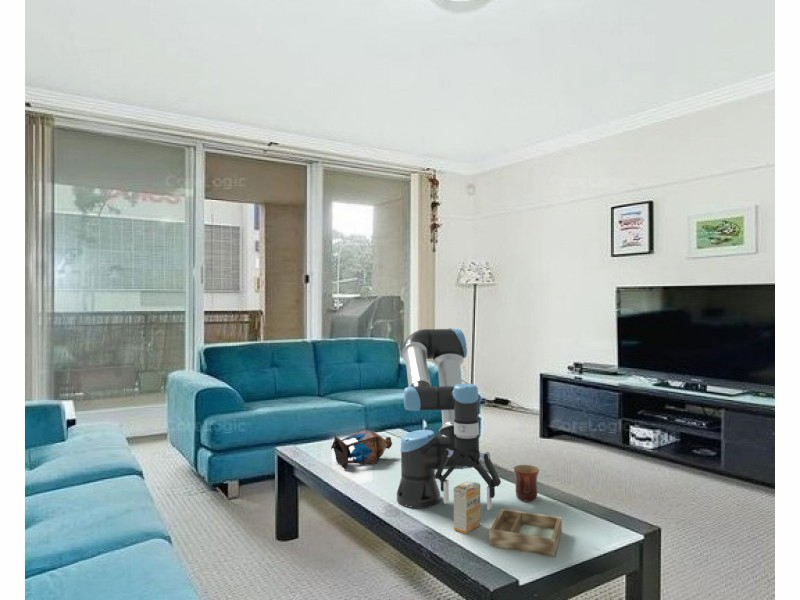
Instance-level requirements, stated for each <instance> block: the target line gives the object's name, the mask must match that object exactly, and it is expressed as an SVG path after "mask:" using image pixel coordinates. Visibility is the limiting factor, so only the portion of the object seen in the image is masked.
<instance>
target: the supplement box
mask: <svg viewBox="0 0 800 600" xmlns="http://www.w3.org/2000/svg"><path fill="white" fill-rule="evenodd" d="M480 525H481V483H479V482H475V481H472V480H471V481H470V480H467V481H466V482H463V483H461V484H458V485H456V486H455V487H453V530H454V531H456V530H457V531H456V532H460V533H463V534H465V535H466V534H468V533H470V532H471V531H472V530H474V529H476V528H477V527H479V526H480Z"/></svg>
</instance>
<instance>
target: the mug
mask: <svg viewBox="0 0 800 600" xmlns="http://www.w3.org/2000/svg"><path fill="white" fill-rule="evenodd" d="M513 472H514V476H515V497H516V498H517V499H518V500H520V501H522V502H533V501H535V500H536V499H537V498H538V493H539V492H538V477H539V473H540V469H539V467H537V466H535V465H532V464H531V465H530V464H520V465H519V464H518V465H515V466H514V467H513Z"/></svg>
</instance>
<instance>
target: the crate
mask: <svg viewBox="0 0 800 600" xmlns="http://www.w3.org/2000/svg"><path fill="white" fill-rule="evenodd" d="M562 526H563V525H562V517H560V516H554V515H548V514H543V513H542V514H541V513H535V512H528V511H521V510H513V509H507V508H500V511H499V512H498V514H497V516H496V517H495V519H494V521H493V523H492V524H491V526H490V528H489V531H488V534H489V535H488V536H489V541H488V542H489V543H488V544H489V547H495V548H501V549H506V550H510V551H517V552H523V553H527V554H535V555H539V556H546V557H550V558H551V557H552V558H555V557H556V554H557V550H558V548H559V547H558V546H559V543H560V541H561V536H562V531H563V529H562Z"/></svg>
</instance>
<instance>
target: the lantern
mask: <svg viewBox="0 0 800 600" xmlns="http://www.w3.org/2000/svg"><path fill="white" fill-rule="evenodd" d="M352 439H355V440H357V441H356V442H355V441H354V442H352V443H349V444H346V443H345V441H346V440H347V441H349V440H352ZM392 445H393V442H392V437H391V436H382V435H380V434H378V433H377V432H374V431H371V432H370V431H369V430H367V429H366V428H365V429H364V428H363V429H362V430H359V431H358V432H355V433H354V434H351V435H349V436H347V437H345V438H343V439H340V438H339V437H338V436H336V435H335V436H334V439H333V442H332V445H331V450H332V449H333V451H334V456H335V460H336V462H337V463H338V464H340V466H341V468H343V469H345V470H346V468H347V466H348V464H360V465H362V464H364V465H365V464H367V465H371V464H372V465H376V464H377V463H378V462H377V460H378V459H380V458H381V457H382V456H383V455H384V453H385V451H386V449H387V450H389V449H391V447H392ZM350 447H354V448H353V450H350ZM349 459H352V460H349Z"/></svg>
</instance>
